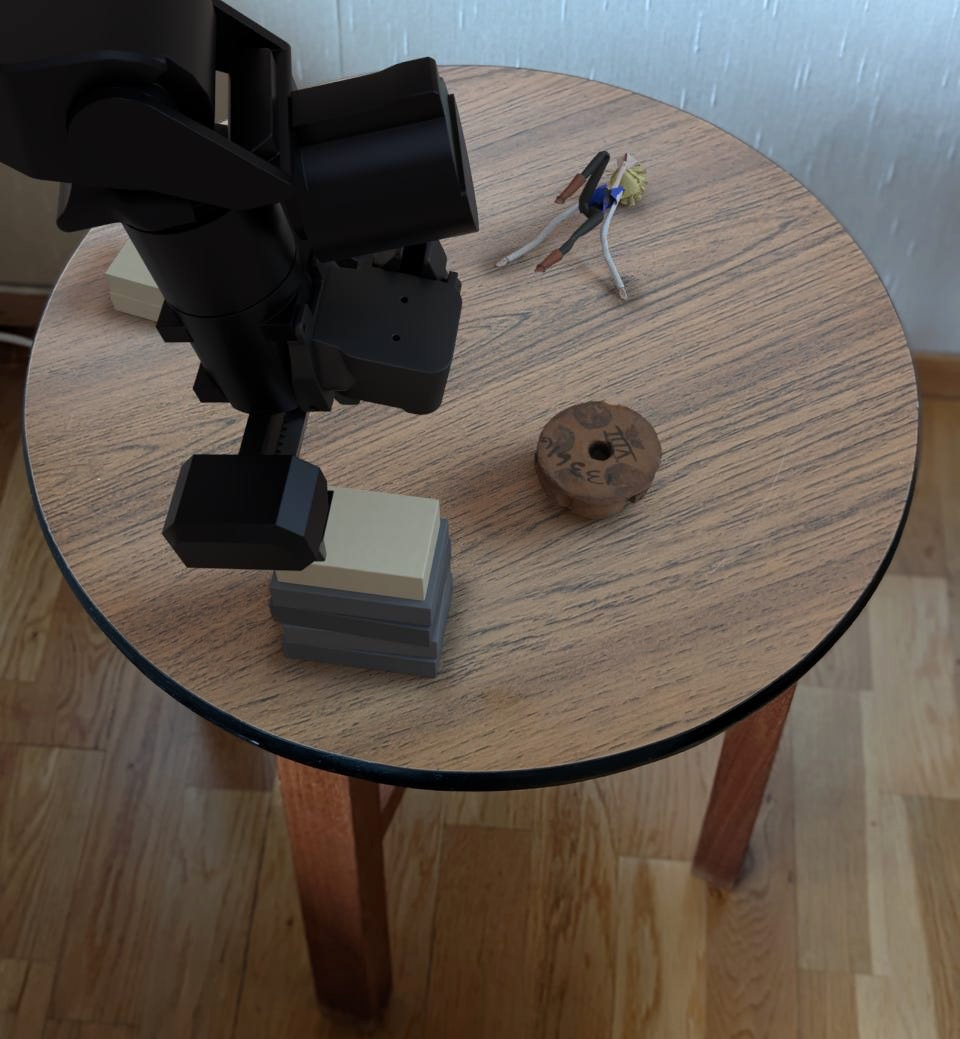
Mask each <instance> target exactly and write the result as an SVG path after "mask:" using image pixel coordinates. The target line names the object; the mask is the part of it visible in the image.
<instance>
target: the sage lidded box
mask: <svg viewBox="0 0 960 1039" xmlns="http://www.w3.org/2000/svg"><path fill="white" fill-rule="evenodd" d="M104 276H105V278H106V281H107V285H108V288H109V292H108V294H109V297H110V300H111V303H112V306H113V309H114V310H115V311H118V312H120V313H124V314H128V315H132V316H135V317H139V318H142V319H146V320H148V321H153V322H156V323H157V320H158V317H159V314H160V311H161V308H162V305H163V302H164V299H165V298H164V297H163V295H162V293H161V292H160V290H159V288H158V286H157V285H156V283H155V281H154V279H153V278H152V276H151V274H150V272H149V271H148V269H147V267H146V265H145V264H144V262H143V260H142V258H141V257H140V255H139V253H138V251H137V250H136V248H135V246H134V244H133V243H132V241H131V239H130V238H129V237H128V238H127V241H126V242H125V243H124V244H123V246H122V248H121V249H120V251H119V252H118V253H117V254H116V256H115V258H114V259H113V260H112V261H111V263H110V265H109V266H108V268H107V269H106V270H105V272H104Z"/></svg>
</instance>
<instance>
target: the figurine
mask: <svg viewBox="0 0 960 1039" xmlns="http://www.w3.org/2000/svg"><path fill="white" fill-rule="evenodd" d="M610 161H611V155H610V153H609V151H607V150H601V151H598V152H597V153H596V155H595V156H594V157H593V158H592V159H591V160H590V161H589V163H588V164H587V165H586V166H585V167H584V169H583V170H582V171H581V173H580V172H577V173H576V174H575V176H574V177H573V178H572V179H571V181H570V182H569V184H568V185H567V186H566V187H565V188H564V189H563V191H562V192H560V193H559V195H557V196H556V198H555V200H554V201H553V203H554V204H558V205H564V204H565V203H566V200H567V199H569V198H571V197H572V196H574V194H575V193H576V192H577V191H578V190H579V189H580V188H581V187H582V186H584V187H583V188H582V191H581V193H580V195H579V197H578V201H577V202H575V203H574V204H573V205H571V206H570V207H568V208H567V209H565V210H563V211H562V212H561V213H560V214H558V215H557V216H556V217H555V218H553V219H551V221H550V222H549V223H548V224H547V225H546V226H545V228H543V229H542V231H540V233H538V234H537V237H536V238H534V239H533V240H532V241H530V242H528V243H526V244H525V245H524V246H522V247H521V248H518V249H516V250H515V251H514V252H512V253H510V254H508V255H506V256H505V257H503V258H501V259H500V260H498V261H497V262H496V263H495V267H497V268H498V267H499V268H501V267H504V266H505V265H507V263H511V262H513V261H514V260H516V259H518V258H519V257H521V256H523V255H524V254H525V255H526V253H528V252H529V251H531V250H533V249H534V248H535V247H537V246H538V245H540V244H541V243H542V242H543V241H544V240H545V239H546V237H547V236H548V235H549V234H550V233H551V232H553V231H554V229H555V228H556V227H557V226H558V225H560V224H562V223H563V222H564V221H565V220H566V219H567V218H569V217H570V216H571V215H573V214H574V213H576V212H577V211H579V214H581V215H583V216H585V218H586V220H584V222H582V223H581V225H579V227H577V228H576V229H575V230H574V231H573V233H572V234H571V235H570V237H569V238H568V239H567V240H566V241H565V242H564V243H563V244H562V245H561V246H559V248H556V249H554V250H552V252H550V253H549V254H548V255H547V256H546V257H545V258H544V259H543V260H542V261H540V263H538V264H536V268H534V271H533V272H535V273H542V274H544V273H545V272H546V271H547V269H549V268H551V267H553V266H554V265H555V264H557V263H559V262H561V261H562V260H563V258H564V256H565V255H566V254H568V253H569V252H570V251H571V250H572V248H574V244H575V243H576V241H578V240H579V238H582V237H583V236H585V235H587V234H588V233H590V232H591V231H593V230H594V229H595V228H597V227H598V226H599V225H601V226H600V228H599V241H600V244H601V249H602V255H603V259H604V261H605V263H606V265H607V267H608V271H609V273H610V276H611V277H612V279H613V281H614V284H615V286H616V288H617V290H618V294H619V296H620V298H621V299H622V300H624V301H627V300H628V295H627V292H626V289H625V285H624V282H623V280H622V278H621V276H620V274H619V272H618V270H617V267H616V265H615V263H614V261H613V259H612V256H611V253H610V251H609V241H608V234H609V228H610V223H611V220H612V217H613V216H614V213H615V211H616V209H617V207H618V204H619V202H620V203H621V204H622V205H624V206H625V205H627V204H628V200H629V204H630V205H629V207H634V206H635V205H636V202H639V201H641V200H642V195H644V194H645V193H646V189H645V187H644V185H647V186H649V180H646V178H645V177H644V176H643V175H640V174H647V168H646V169H645V168H638V167H642V164H641V162H640V161H639V160H638V159H636V158H635V157H633V156H631V155H630V154H629V153H628V152H625V153H624V154H623V155H622V156H618V157H616V165H617V168H616V169H614V170H608V169H606V168H607V166H608V165H609V162H610ZM671 169H673V166H671ZM605 172H606V173H612V174H611V176H610V178H609V181H608V184H607V183H604V184H602V185H599V183H600V181H601V179H602V177H603V175H604V173H605ZM643 184H644V185H643ZM634 196H635V197H634ZM635 198H636V200H635ZM606 209H609V211H608V213H607V215H606V216H605V214H606ZM601 223H602V224H601Z"/></svg>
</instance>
